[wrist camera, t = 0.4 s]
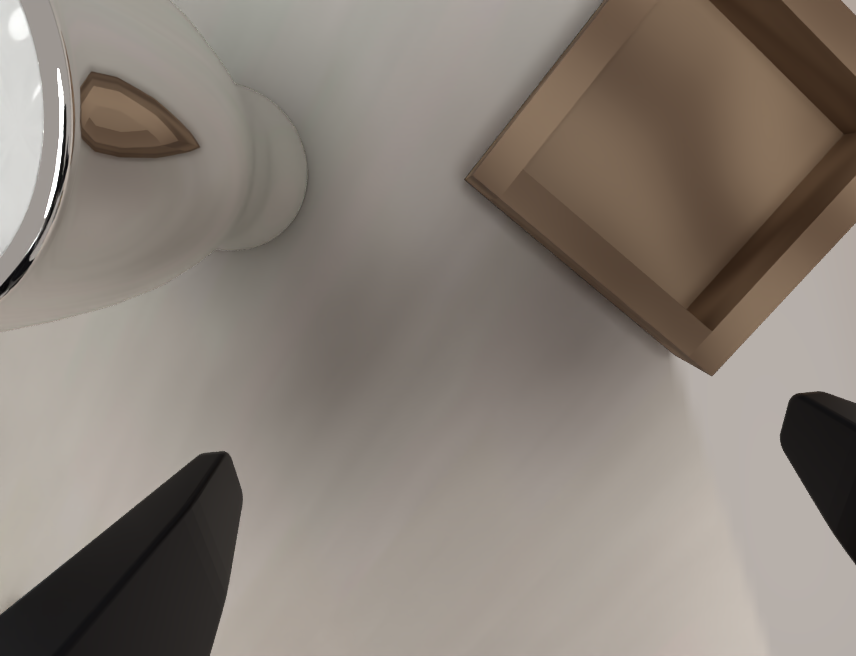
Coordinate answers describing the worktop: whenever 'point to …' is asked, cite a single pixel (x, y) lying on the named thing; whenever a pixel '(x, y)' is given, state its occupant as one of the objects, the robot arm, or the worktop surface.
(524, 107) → the empty pocket
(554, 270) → the worktop surface
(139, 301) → the worktop surface
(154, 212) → the beer glass
